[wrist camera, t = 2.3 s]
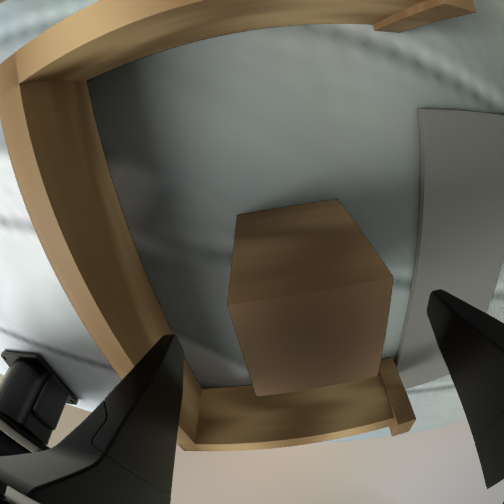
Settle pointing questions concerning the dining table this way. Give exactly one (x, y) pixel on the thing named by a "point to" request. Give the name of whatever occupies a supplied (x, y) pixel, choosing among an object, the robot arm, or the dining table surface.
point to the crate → (113, 221)
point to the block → (307, 298)
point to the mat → (453, 227)
